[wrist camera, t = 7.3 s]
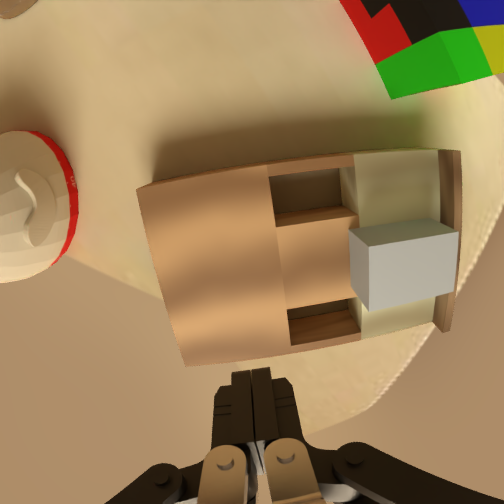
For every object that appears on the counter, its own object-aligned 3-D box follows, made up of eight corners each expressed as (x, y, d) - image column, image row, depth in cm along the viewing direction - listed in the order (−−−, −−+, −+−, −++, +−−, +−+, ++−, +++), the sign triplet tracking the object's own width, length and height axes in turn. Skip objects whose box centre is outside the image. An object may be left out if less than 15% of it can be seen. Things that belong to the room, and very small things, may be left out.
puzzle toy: (421, -12, 18) (477, -50, 9) (466, 76, 21) (537, 64, 12) (338, 0, 19) (382, -56, 10) (390, 99, 22) (461, 83, 13)
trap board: (151, 182, 24) (126, 193, 18) (420, 147, 24) (460, 150, 18) (191, 340, 29) (182, 381, 23) (420, 300, 28) (449, 330, 23)
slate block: (348, 229, 22) (368, 246, 18) (429, 217, 21) (458, 231, 18) (350, 286, 23) (368, 312, 19) (427, 271, 23) (453, 291, 19)
